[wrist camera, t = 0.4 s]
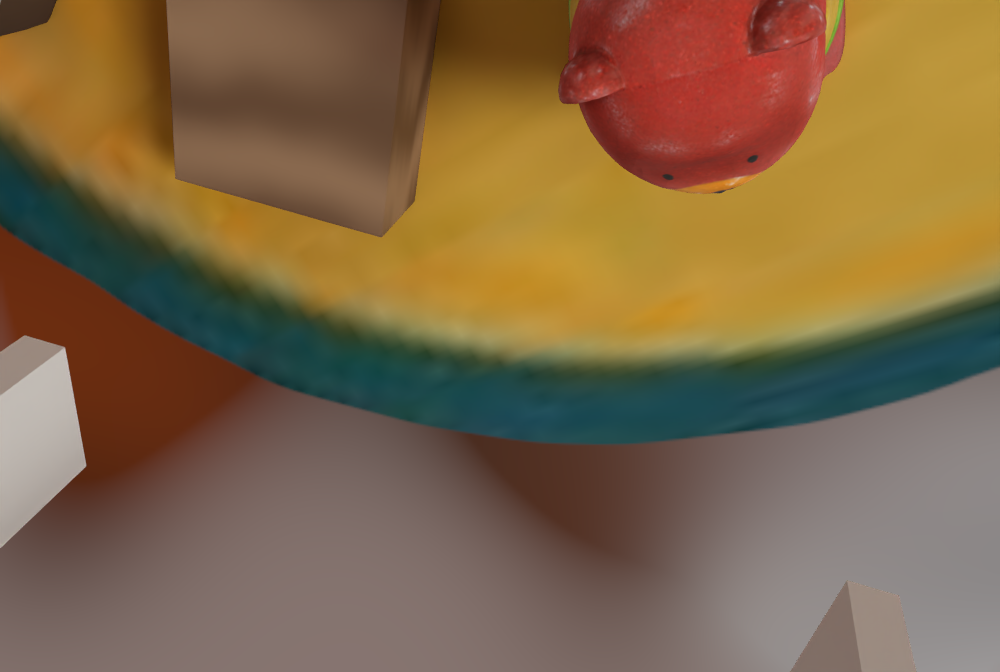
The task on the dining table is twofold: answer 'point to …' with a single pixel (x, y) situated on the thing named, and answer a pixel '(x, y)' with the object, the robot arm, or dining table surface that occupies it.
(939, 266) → the dining table surface
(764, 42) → the stacking bear
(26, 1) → the beer bottle
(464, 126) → the dining table surface
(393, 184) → the walnut base brick
